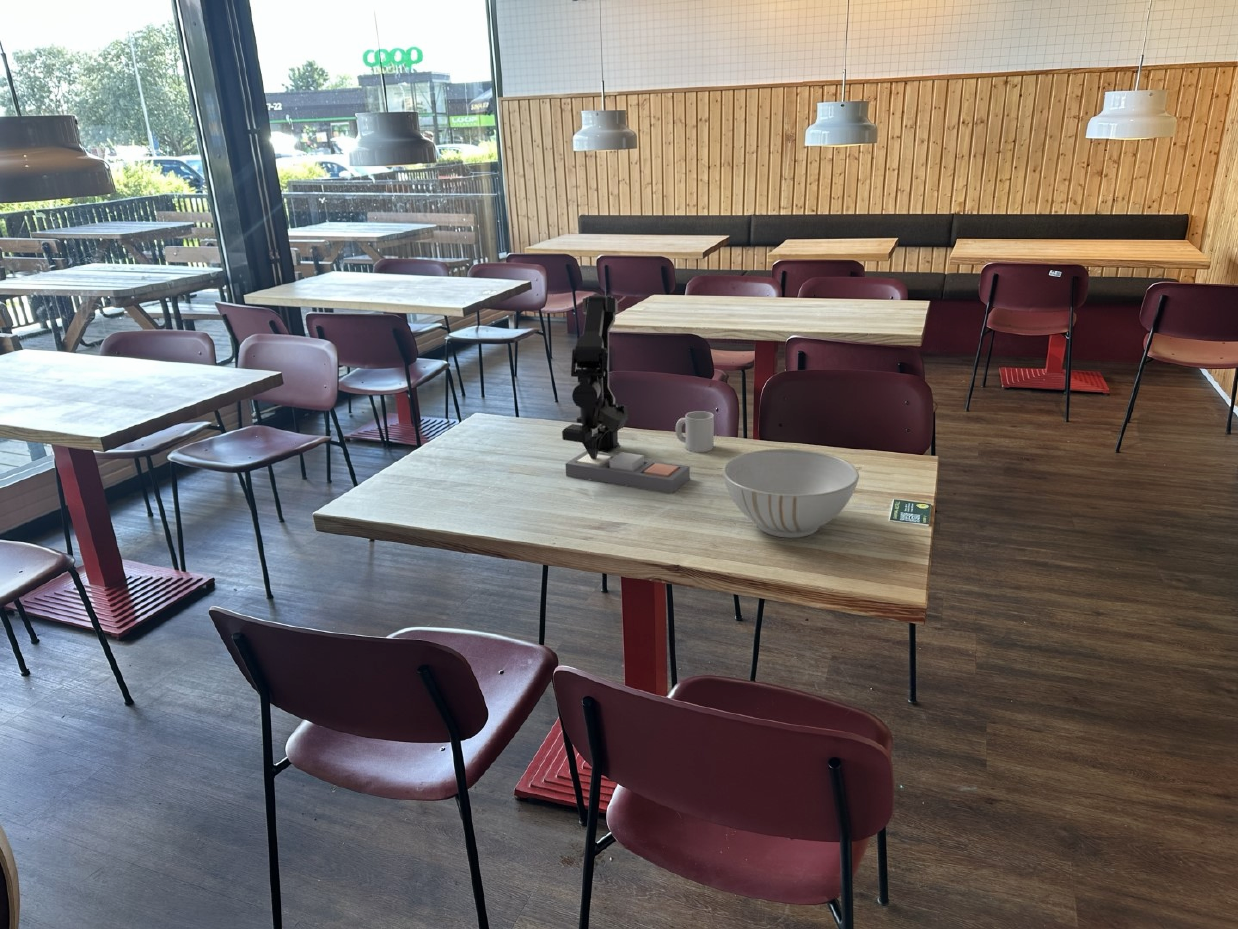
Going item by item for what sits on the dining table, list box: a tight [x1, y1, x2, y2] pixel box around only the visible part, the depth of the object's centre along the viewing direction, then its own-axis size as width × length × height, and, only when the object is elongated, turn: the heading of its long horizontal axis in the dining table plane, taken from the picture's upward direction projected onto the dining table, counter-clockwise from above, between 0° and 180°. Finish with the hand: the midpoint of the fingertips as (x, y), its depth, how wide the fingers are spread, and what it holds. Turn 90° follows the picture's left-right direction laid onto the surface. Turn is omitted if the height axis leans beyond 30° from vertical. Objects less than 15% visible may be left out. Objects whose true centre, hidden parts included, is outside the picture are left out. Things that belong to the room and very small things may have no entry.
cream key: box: [577, 454, 611, 466], centre depth 211 cm, size 6×6×2 cm
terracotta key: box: [644, 463, 678, 477], centre depth 203 cm, size 6×6×2 cm
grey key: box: [609, 451, 645, 472], centre depth 207 cm, size 6×6×2 cm
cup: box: [675, 410, 715, 453], centre depth 225 cm, size 7×10×9 cm
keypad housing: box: [565, 450, 691, 495], centre depth 207 cm, size 28×10×3 cm, turn 62°
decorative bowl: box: [722, 448, 860, 539], centre depth 177 cm, size 27×27×12 cm
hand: (593, 458), depth 211 cm, fingers closed, pressing on cream key
